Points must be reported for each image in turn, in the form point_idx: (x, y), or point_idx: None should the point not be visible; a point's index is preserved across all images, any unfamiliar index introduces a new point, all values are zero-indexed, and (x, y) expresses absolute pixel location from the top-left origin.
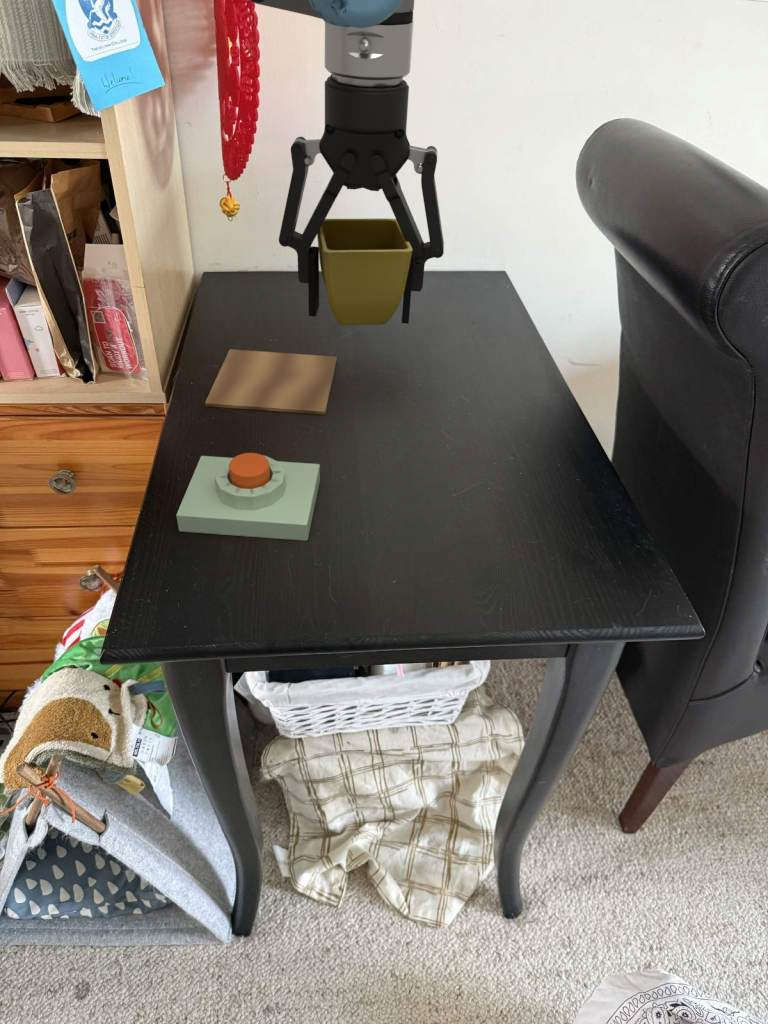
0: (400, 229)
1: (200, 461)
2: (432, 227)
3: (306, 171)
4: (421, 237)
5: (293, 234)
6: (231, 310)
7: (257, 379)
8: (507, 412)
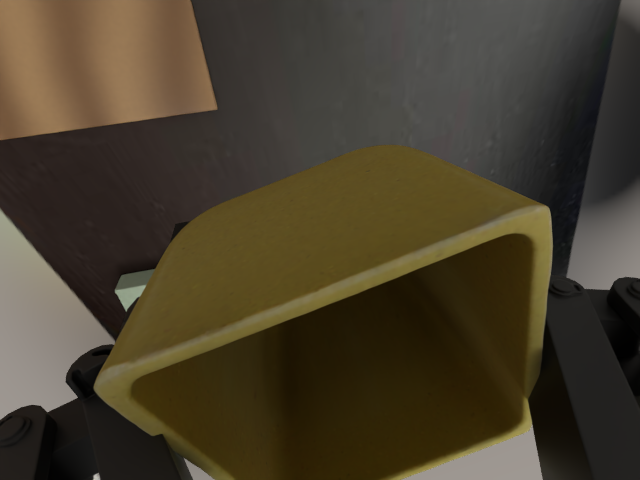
0: (535, 328)
1: (122, 300)
2: None
3: None
4: (598, 320)
5: (78, 472)
6: None
7: (25, 21)
8: (515, 14)
